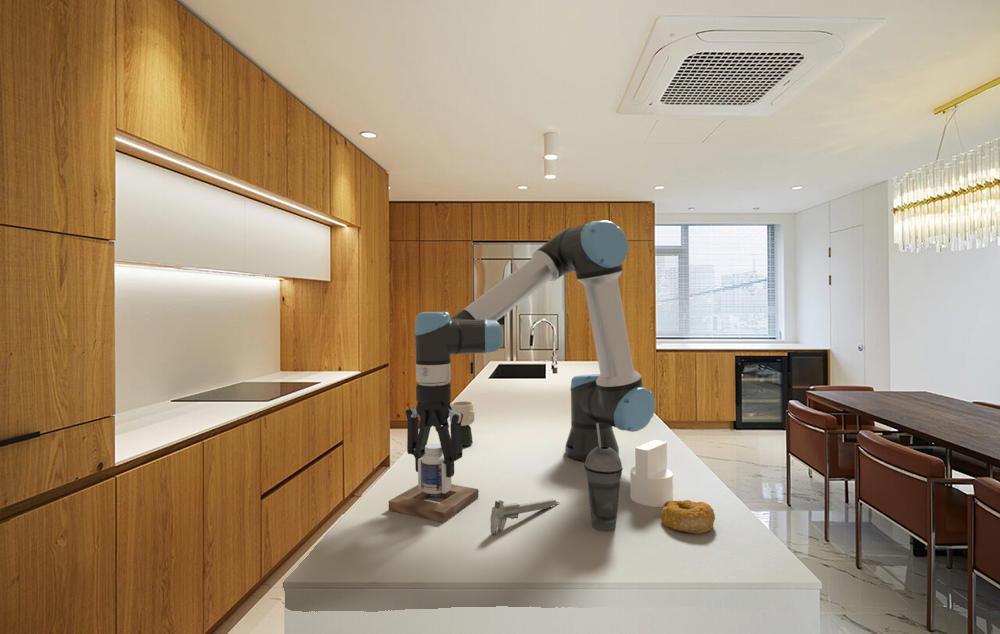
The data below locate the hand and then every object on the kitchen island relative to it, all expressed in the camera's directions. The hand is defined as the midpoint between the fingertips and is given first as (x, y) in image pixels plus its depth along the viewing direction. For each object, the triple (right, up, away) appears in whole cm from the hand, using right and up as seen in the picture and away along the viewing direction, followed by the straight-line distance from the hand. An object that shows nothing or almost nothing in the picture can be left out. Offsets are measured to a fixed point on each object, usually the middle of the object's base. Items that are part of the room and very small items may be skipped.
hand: (434, 488), depth 109 cm
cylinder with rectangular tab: (+48, -3, +2) cm, 48 cm away
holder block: (0, -3, 0) cm, 3 cm away
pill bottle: (0, -1, 0) cm, 1 cm away
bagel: (+51, -4, -11) cm, 52 cm away
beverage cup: (+34, -4, -12) cm, 37 cm away
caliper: (+20, -4, -7) cm, 21 cm away
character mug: (+3, -2, +46) cm, 46 cm away
